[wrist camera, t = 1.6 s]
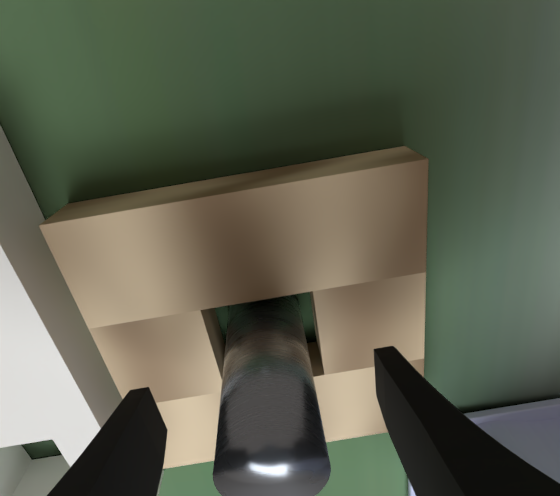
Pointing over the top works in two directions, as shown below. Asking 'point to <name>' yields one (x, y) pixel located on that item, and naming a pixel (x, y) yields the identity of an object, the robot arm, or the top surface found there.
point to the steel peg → (269, 406)
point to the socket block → (253, 281)
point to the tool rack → (42, 350)
